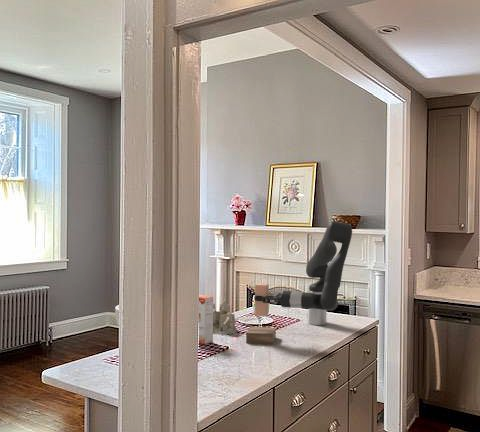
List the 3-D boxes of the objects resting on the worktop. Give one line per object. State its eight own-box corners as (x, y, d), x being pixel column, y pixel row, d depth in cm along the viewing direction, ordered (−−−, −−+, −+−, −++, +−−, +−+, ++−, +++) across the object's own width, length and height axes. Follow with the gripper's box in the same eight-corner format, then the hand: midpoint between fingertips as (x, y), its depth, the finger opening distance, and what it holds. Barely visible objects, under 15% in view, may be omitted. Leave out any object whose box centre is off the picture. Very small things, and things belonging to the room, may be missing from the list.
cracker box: (182, 339, 227) (182, 294, 226) (191, 336, 231) (191, 292, 231) (204, 345, 218) (204, 298, 217) (213, 342, 223) (213, 296, 222)
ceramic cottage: (203, 326, 251) (204, 297, 249) (235, 327, 252) (236, 298, 251) (202, 336, 235) (204, 305, 234) (237, 337, 236) (238, 306, 235)
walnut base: (250, 336, 234) (250, 326, 233) (275, 338, 231) (275, 327, 231) (246, 343, 222) (246, 332, 222) (272, 345, 220) (272, 334, 219)
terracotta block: (258, 313, 229) (258, 283, 229) (268, 314, 228) (268, 283, 227) (254, 315, 225) (255, 284, 224) (265, 316, 223) (265, 285, 223)
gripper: (295, 288, 228) (260, 286, 233) (289, 293, 215) (251, 291, 220) (295, 304, 228) (260, 302, 234) (288, 311, 215) (251, 308, 220)
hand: (256, 297), depth 227 cm, fingers closed on terracotta block, 5 cm apart
